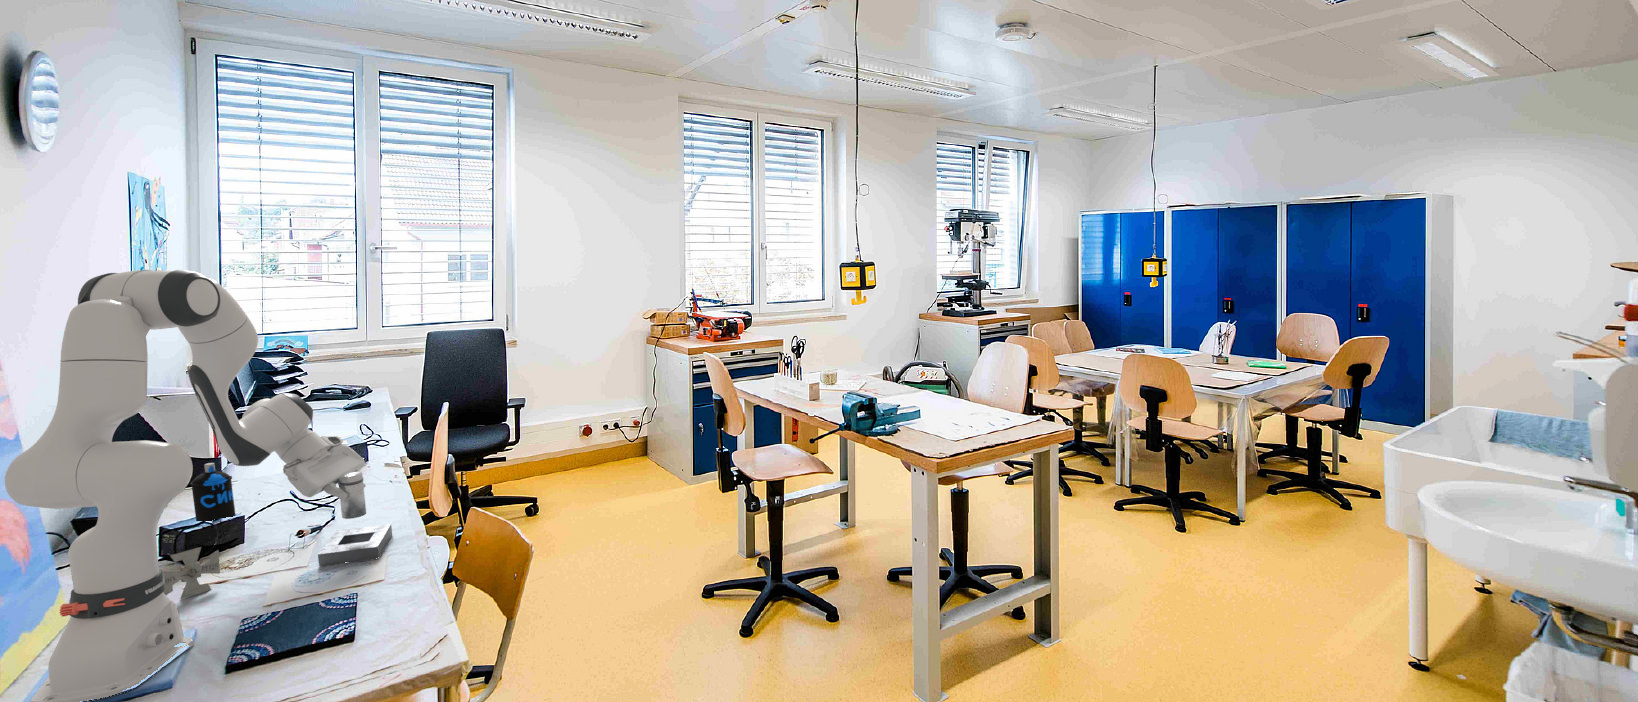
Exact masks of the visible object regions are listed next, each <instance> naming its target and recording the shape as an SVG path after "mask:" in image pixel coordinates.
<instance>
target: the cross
mask: <svg viewBox="0 0 1638 702" xmlns="http://www.w3.org/2000/svg"><path fill="white" fill-rule="evenodd" d="M201 550H202V546H198V547H195V548H192V549H188V550H184V551H181V552H178V553H174V554H171V555H170V558H171V559H172V560H173V562H174V563H176V562H179V561H182V562H183V563H184V565H182V566H180V567H179V571H178V570H176V571H175V570H174V571H172V570H171V571H170V570H166V571H163V570H162V572H163V576H164V579H165V590H164V591H163V592H164V594H165V595H166V596H168V595H169V594H171V593H172V592H173V590H174V588H173V586H174V585H176V584H177V583H178V582H181V583H185V586H184V588H183V591H182V594H181V595H180V599H179V600H184V599H186V598H190V597H192V596H195V595H198V594H201V593H204V592H205V593H206V592H207V591H211V590H212V587H211V586H210V585H209V583H204V584H200V582H199V581H198V579H199V578H201V577H202V574H217V575H219V574H220V573H221V569H220V568H221V566H220V553H219V552H220V551H219V549H217V550H216V551H214V552H212V553H210V555H209V557H210V560H208V561H207V562H205V563H204V564H201V562H199V561H198V560H199V556H200V553H201Z"/></svg>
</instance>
